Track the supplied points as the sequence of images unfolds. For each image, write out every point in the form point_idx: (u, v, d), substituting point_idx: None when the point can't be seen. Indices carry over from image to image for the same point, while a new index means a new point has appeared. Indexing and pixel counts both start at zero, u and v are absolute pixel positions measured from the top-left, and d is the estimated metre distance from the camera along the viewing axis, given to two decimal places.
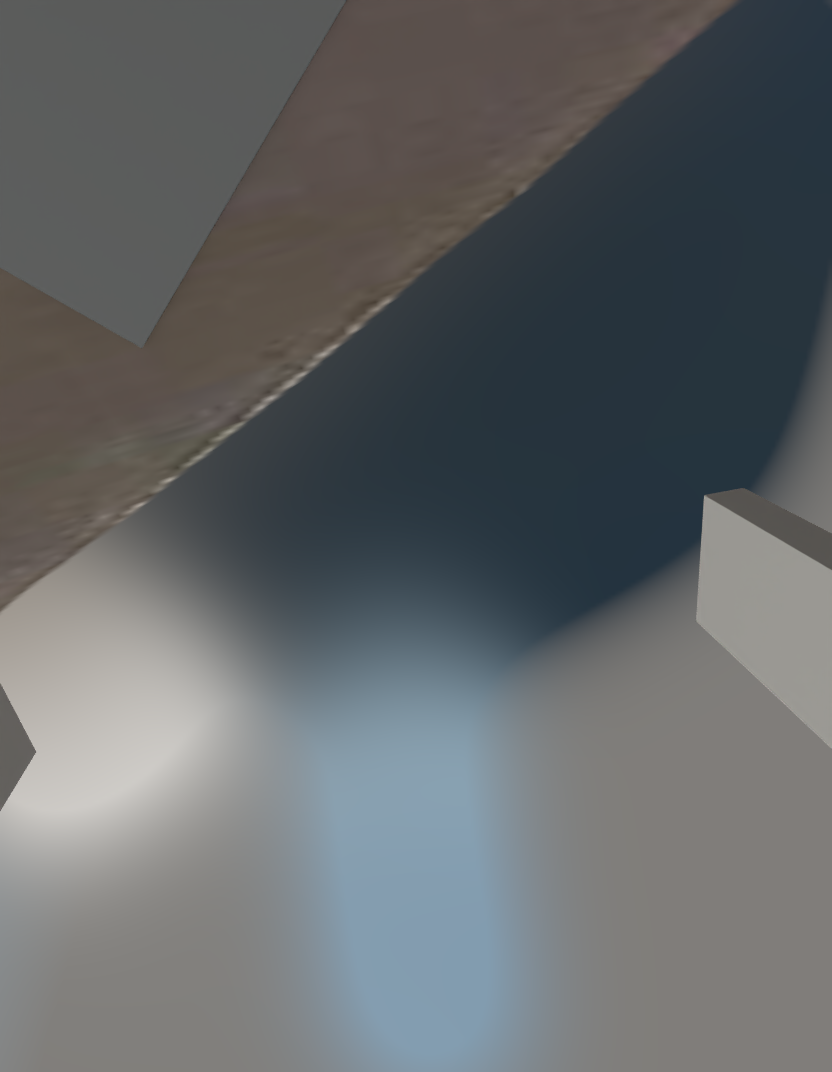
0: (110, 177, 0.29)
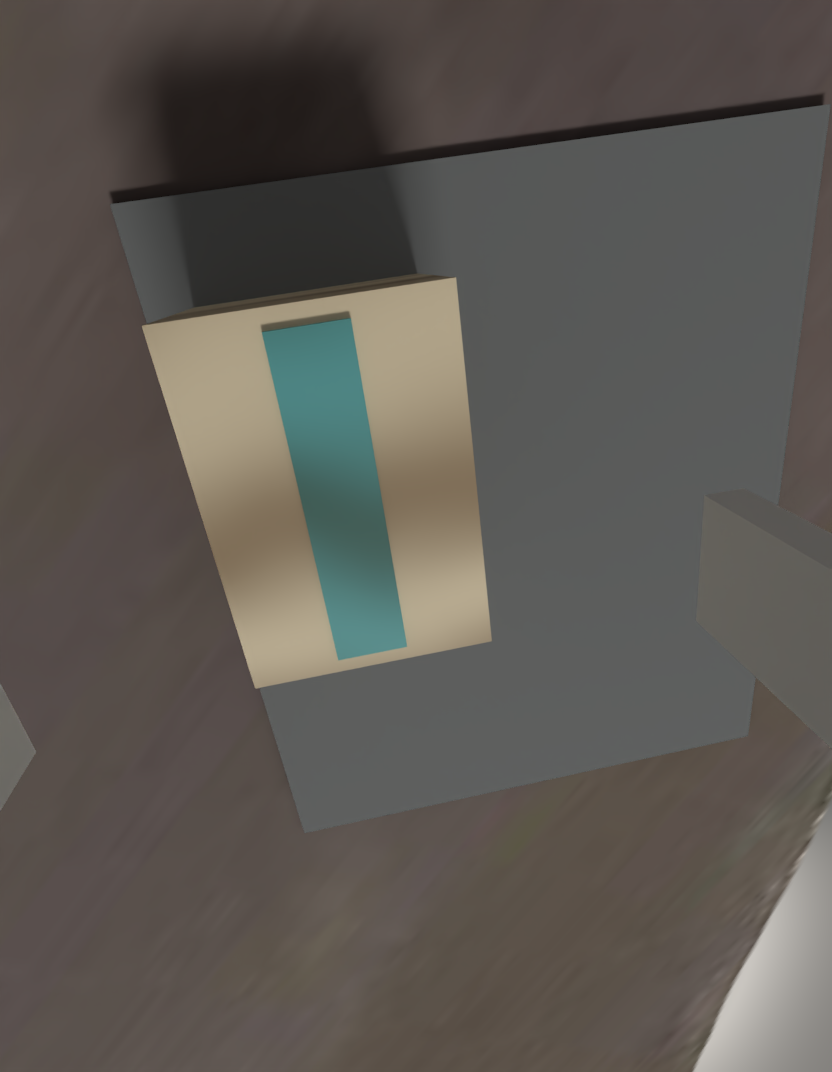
0: (661, 636, 0.26)
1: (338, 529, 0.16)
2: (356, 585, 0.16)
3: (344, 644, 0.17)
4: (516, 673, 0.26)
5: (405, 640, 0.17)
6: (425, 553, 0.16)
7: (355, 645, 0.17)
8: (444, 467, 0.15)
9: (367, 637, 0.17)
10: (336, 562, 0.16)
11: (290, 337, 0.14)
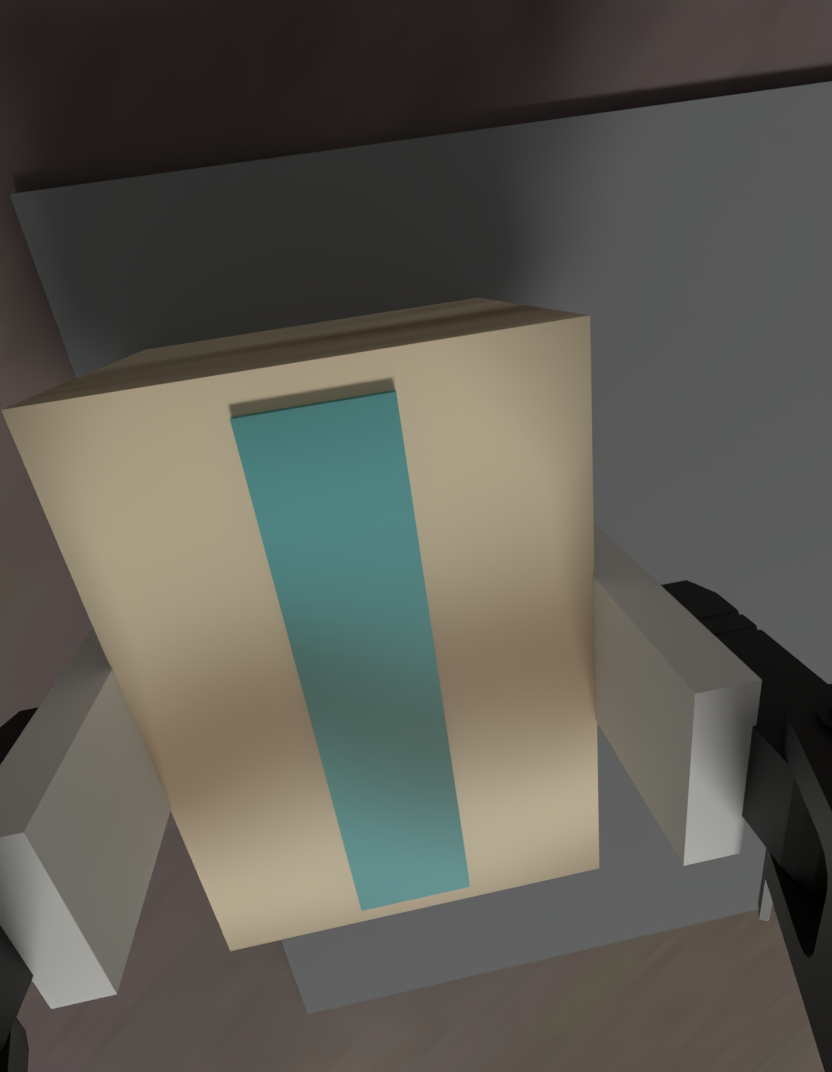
0: None
1: (365, 728, 0.09)
2: (393, 809, 0.10)
3: (371, 889, 0.11)
4: None
5: (467, 876, 0.11)
6: (505, 755, 0.10)
7: (389, 890, 0.11)
8: (544, 630, 0.09)
9: (408, 878, 0.11)
10: (361, 775, 0.10)
11: (284, 427, 0.07)
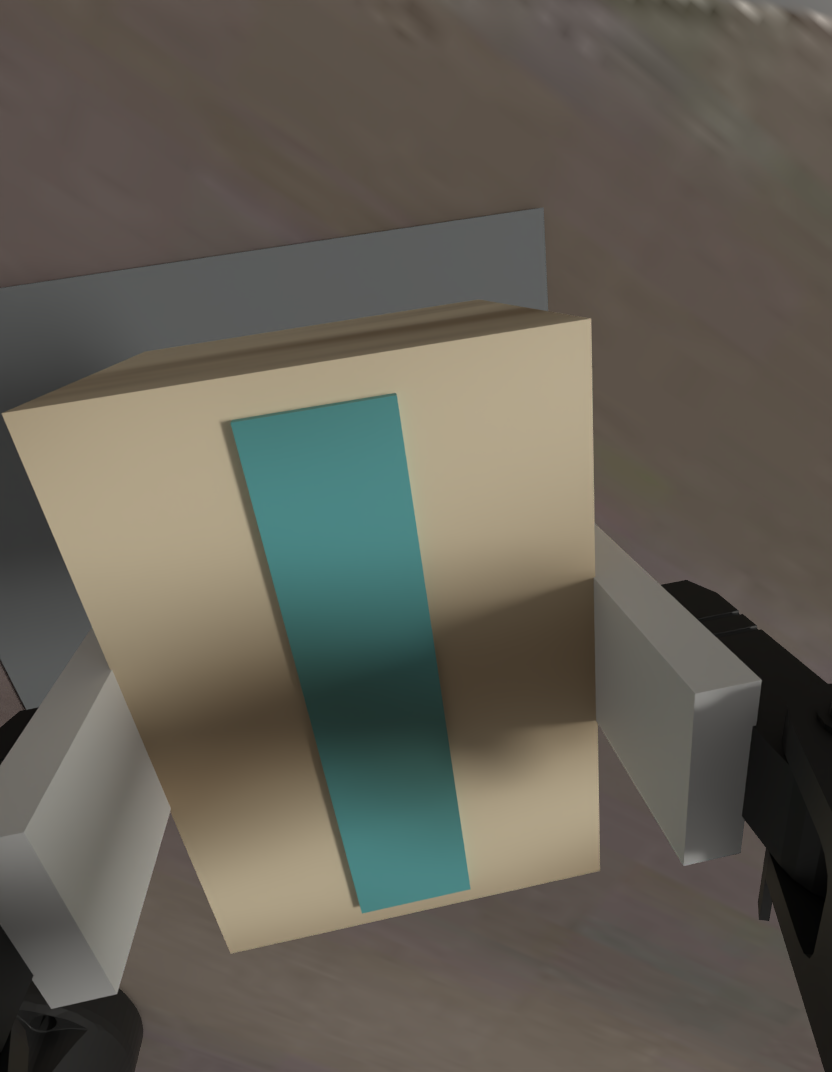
0: None
1: (365, 731, 0.09)
2: (393, 812, 0.10)
3: (372, 892, 0.11)
4: None
5: (468, 879, 0.11)
6: (506, 758, 0.10)
7: (389, 892, 0.11)
8: (545, 632, 0.09)
9: (409, 880, 0.11)
10: (361, 779, 0.10)
11: (284, 430, 0.07)
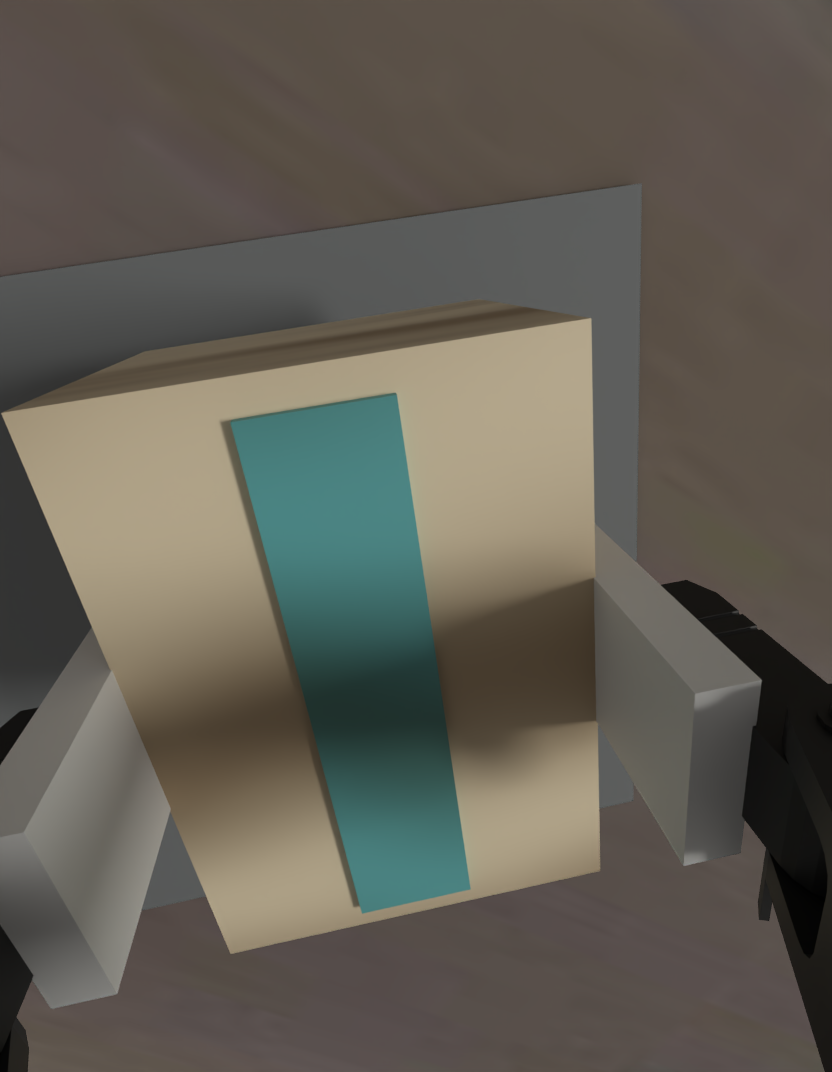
0: None
1: (365, 731, 0.09)
2: (393, 812, 0.10)
3: (372, 892, 0.11)
4: None
5: (468, 879, 0.11)
6: (506, 759, 0.10)
7: (389, 892, 0.11)
8: (545, 633, 0.09)
9: (409, 881, 0.11)
10: (361, 778, 0.10)
11: (284, 430, 0.07)
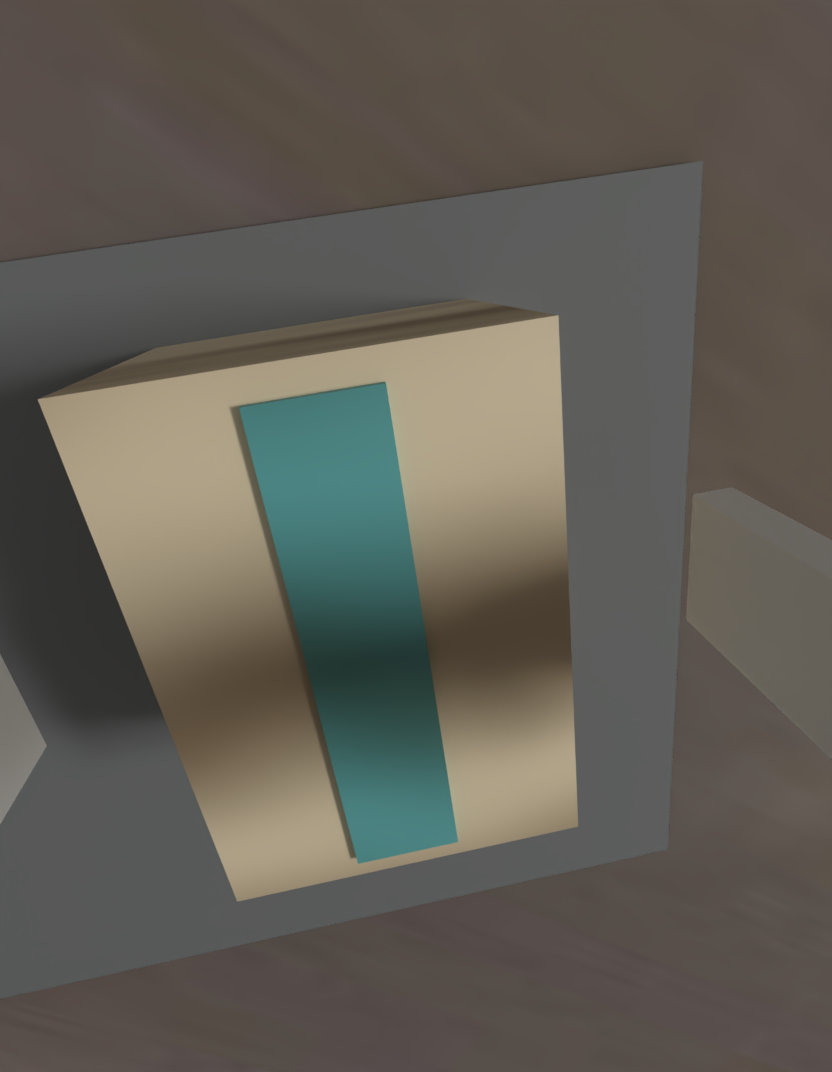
0: None
1: (360, 691, 0.10)
2: (386, 767, 0.11)
3: (367, 843, 0.12)
4: None
5: (455, 832, 0.12)
6: (489, 718, 0.11)
7: (383, 844, 0.12)
8: (523, 600, 0.10)
9: (401, 833, 0.12)
10: (357, 736, 0.11)
11: (286, 415, 0.08)
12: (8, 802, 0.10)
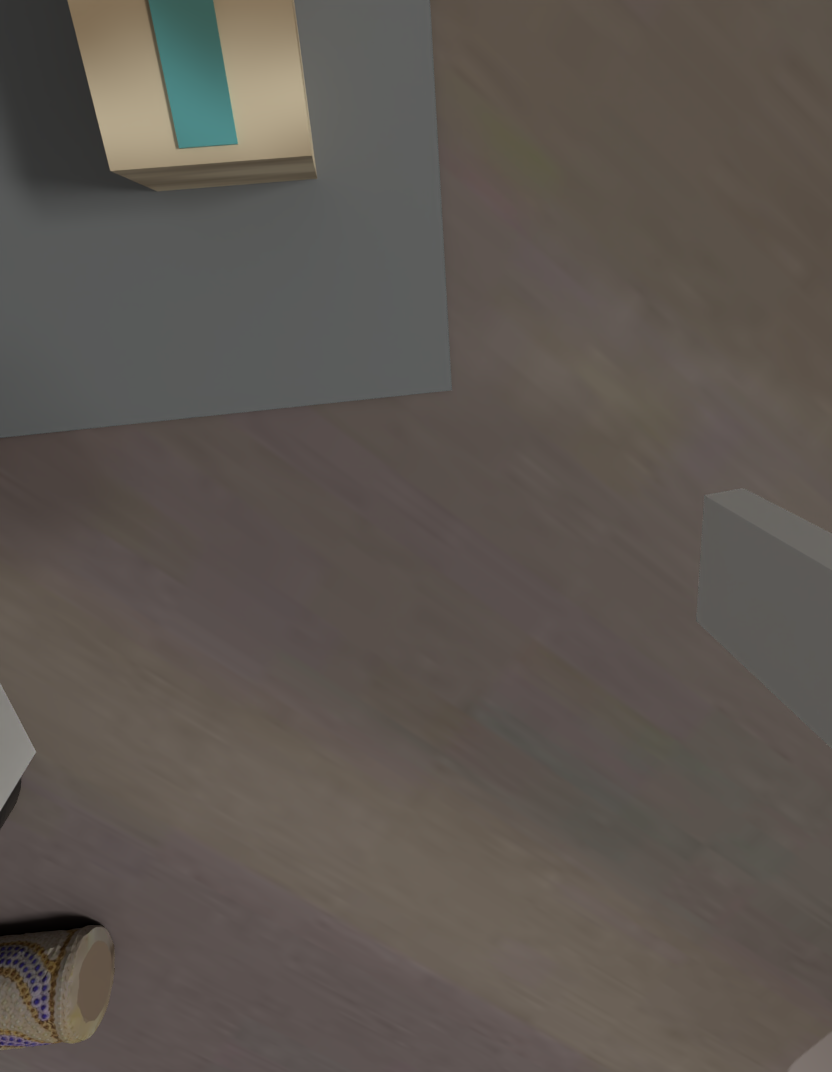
0: None
1: (174, 4, 0.19)
2: (190, 64, 0.20)
3: (183, 130, 0.21)
4: None
5: (236, 138, 0.21)
6: (249, 44, 0.20)
7: (192, 133, 0.21)
8: None
9: (202, 126, 0.21)
10: (174, 40, 0.20)
11: None
12: None
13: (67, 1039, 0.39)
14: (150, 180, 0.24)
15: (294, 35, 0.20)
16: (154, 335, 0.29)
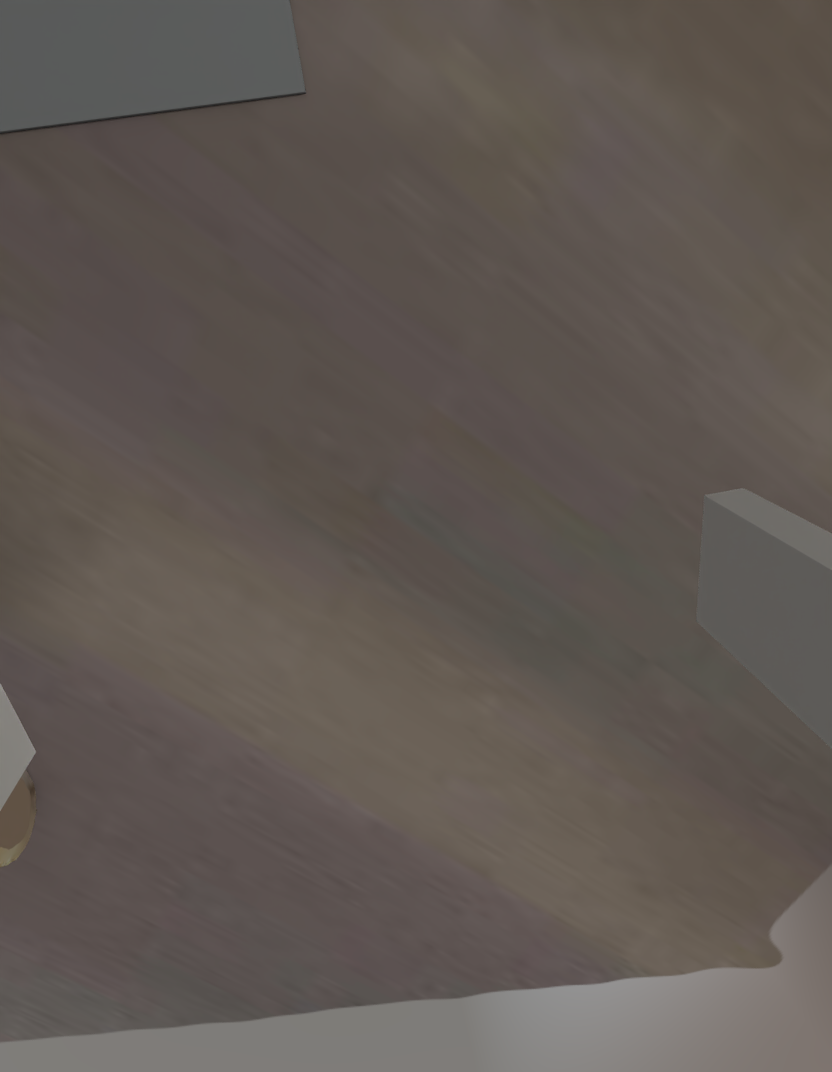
0: None
1: None
2: None
3: None
4: None
5: None
6: None
7: None
8: None
9: None
10: None
11: None
12: None
13: None
14: None
15: None
16: None
